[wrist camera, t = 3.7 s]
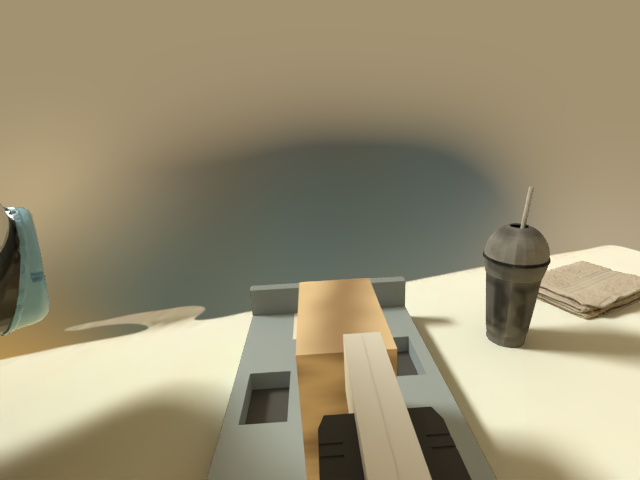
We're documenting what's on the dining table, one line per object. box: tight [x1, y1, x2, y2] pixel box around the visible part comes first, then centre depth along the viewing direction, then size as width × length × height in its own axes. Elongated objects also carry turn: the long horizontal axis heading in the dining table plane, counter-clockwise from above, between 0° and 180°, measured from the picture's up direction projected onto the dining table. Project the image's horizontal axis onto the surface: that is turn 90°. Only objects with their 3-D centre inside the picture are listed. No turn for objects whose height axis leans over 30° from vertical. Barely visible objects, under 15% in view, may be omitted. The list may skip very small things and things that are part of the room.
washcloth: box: [537, 261, 640, 319], centre depth 57 cm, size 12×18×3 cm, turn 115°
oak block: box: [296, 278, 397, 480], centre depth 28 cm, size 6×10×13 cm, turn 2°
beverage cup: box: [483, 187, 550, 347], centre depth 44 cm, size 7×7×20 cm
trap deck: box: [207, 277, 497, 480], centre depth 37 cm, size 22×32×6 cm
